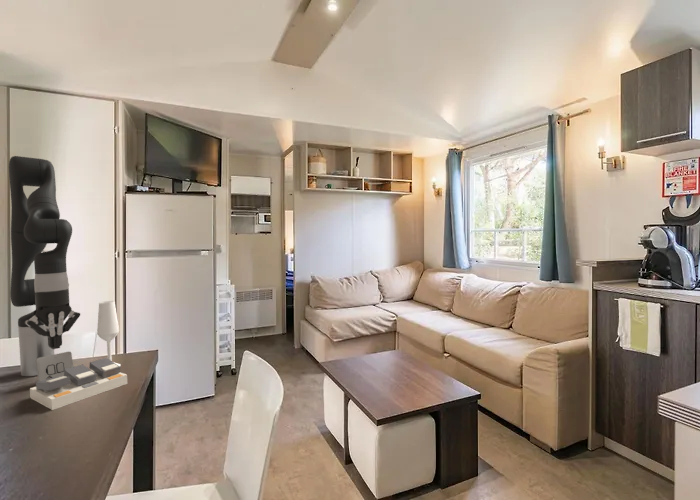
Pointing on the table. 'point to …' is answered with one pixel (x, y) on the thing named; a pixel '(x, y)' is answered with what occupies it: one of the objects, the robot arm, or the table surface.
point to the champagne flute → (107, 324)
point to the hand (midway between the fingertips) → (55, 348)
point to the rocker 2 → (104, 367)
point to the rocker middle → (80, 375)
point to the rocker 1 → (52, 383)
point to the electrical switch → (53, 365)
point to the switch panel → (76, 391)
